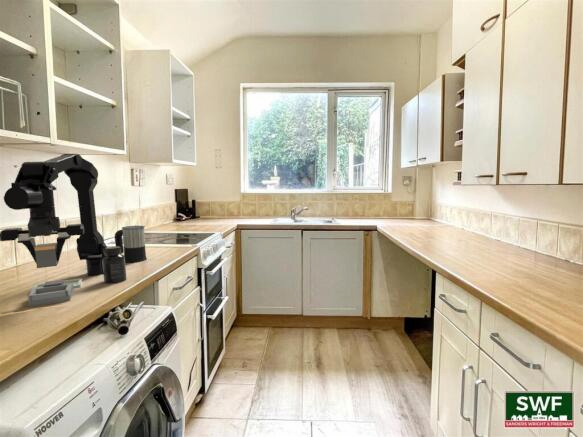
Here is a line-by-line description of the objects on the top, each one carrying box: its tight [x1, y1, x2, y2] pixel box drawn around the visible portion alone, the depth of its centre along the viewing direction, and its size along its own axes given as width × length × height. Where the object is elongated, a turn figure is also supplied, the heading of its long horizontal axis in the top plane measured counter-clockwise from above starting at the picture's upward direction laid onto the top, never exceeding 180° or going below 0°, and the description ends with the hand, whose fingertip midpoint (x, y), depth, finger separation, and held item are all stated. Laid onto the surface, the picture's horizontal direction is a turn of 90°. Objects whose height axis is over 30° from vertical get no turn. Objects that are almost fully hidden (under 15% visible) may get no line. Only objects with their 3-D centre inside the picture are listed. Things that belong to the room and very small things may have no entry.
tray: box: [29, 277, 83, 294], centre depth 110 cm, size 9×13×1 cm
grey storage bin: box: [27, 279, 75, 308], centre depth 100 cm, size 12×10×4 cm
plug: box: [34, 242, 60, 269], centre depth 96 cm, size 5×5×6 cm
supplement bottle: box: [102, 245, 127, 285], centre depth 115 cm, size 7×7×12 cm
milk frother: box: [114, 225, 148, 263], centre depth 145 cm, size 14×16×15 cm
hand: (47, 262), depth 97 cm, fingers closed on plug, 4 cm apart
